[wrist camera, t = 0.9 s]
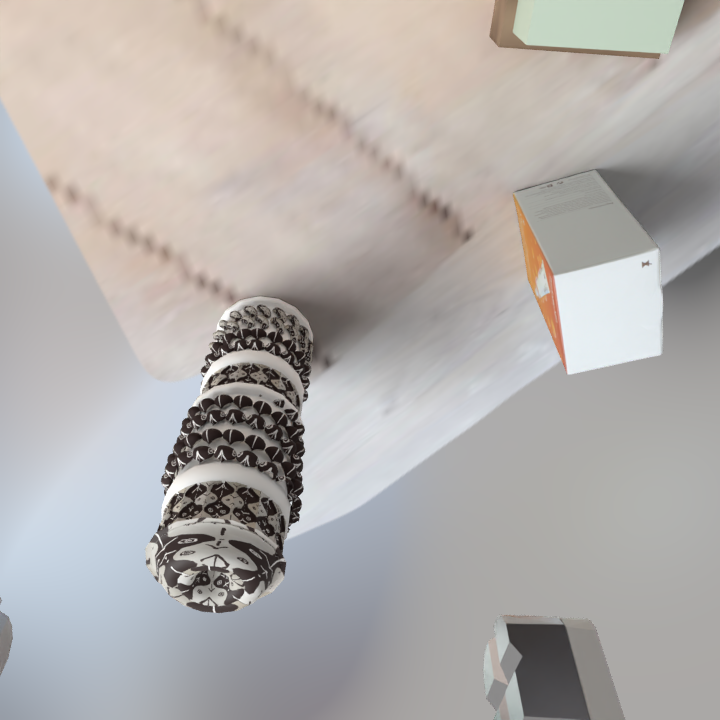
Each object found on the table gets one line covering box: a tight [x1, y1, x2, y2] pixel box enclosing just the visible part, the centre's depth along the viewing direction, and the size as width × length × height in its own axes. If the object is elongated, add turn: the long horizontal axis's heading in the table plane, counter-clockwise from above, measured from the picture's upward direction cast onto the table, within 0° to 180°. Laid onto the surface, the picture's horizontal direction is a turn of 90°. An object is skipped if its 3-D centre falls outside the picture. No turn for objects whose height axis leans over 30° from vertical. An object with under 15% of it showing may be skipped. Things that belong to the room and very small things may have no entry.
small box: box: [513, 170, 663, 375], centre depth 45 cm, size 8×6×13 cm
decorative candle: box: [145, 296, 314, 613], centre depth 46 cm, size 9×9×25 cm
